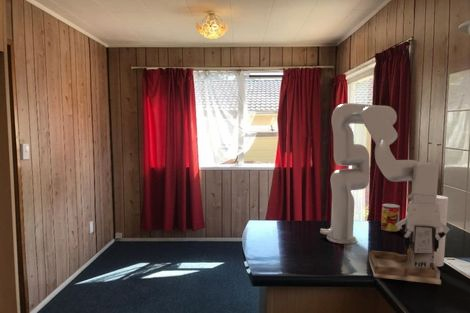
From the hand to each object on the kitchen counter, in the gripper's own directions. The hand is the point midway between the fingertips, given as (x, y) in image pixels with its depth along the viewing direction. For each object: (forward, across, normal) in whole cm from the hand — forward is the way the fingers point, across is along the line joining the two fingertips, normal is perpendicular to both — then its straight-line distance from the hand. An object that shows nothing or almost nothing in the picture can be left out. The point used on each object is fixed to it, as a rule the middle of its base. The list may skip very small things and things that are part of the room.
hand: (420, 248), depth 122 cm
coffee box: (+8, 0, 0) cm, 8 cm away
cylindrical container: (+9, +7, +12) cm, 16 cm away
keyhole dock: (+9, -6, 0) cm, 10 cm away
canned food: (+9, 0, +55) cm, 56 cm away
